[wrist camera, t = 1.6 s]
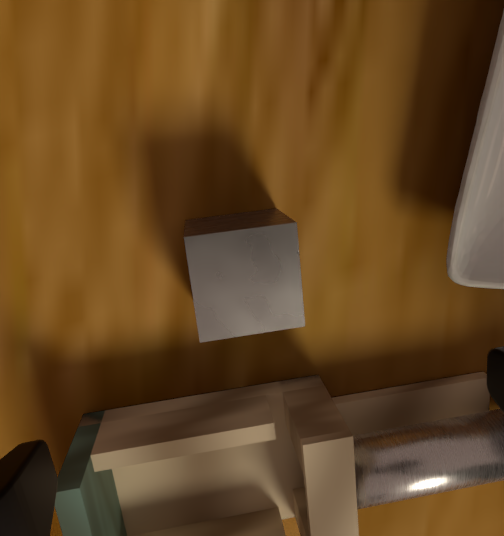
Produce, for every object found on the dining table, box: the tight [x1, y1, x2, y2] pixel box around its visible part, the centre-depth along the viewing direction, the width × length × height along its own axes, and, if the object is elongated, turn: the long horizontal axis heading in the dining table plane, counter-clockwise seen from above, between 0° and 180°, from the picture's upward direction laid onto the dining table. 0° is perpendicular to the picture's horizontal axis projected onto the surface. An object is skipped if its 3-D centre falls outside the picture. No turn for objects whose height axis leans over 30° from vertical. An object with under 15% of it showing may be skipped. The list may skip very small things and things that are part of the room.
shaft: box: [302, 409, 504, 509], centre depth 21 cm, size 12×4×4 cm, turn 96°
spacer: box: [184, 208, 305, 343], centre depth 18 cm, size 4×4×4 cm
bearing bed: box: [55, 372, 490, 536], centre depth 20 cm, size 20×7×5 cm, turn 96°
